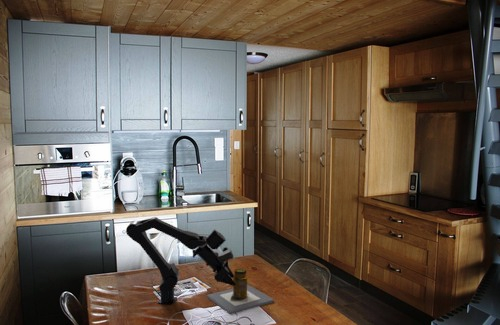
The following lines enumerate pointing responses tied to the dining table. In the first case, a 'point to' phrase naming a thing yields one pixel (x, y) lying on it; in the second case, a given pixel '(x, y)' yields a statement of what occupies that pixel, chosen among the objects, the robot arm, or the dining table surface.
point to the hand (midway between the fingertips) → (234, 281)
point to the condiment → (240, 286)
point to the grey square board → (231, 307)
